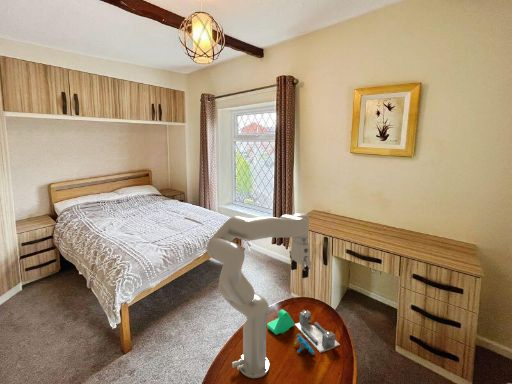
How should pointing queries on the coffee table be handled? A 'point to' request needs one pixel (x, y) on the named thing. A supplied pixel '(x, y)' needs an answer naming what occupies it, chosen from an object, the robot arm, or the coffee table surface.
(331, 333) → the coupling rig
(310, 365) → the coffee table surface
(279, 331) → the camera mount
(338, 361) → the coffee table surface
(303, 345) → the gear
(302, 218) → the robot arm
